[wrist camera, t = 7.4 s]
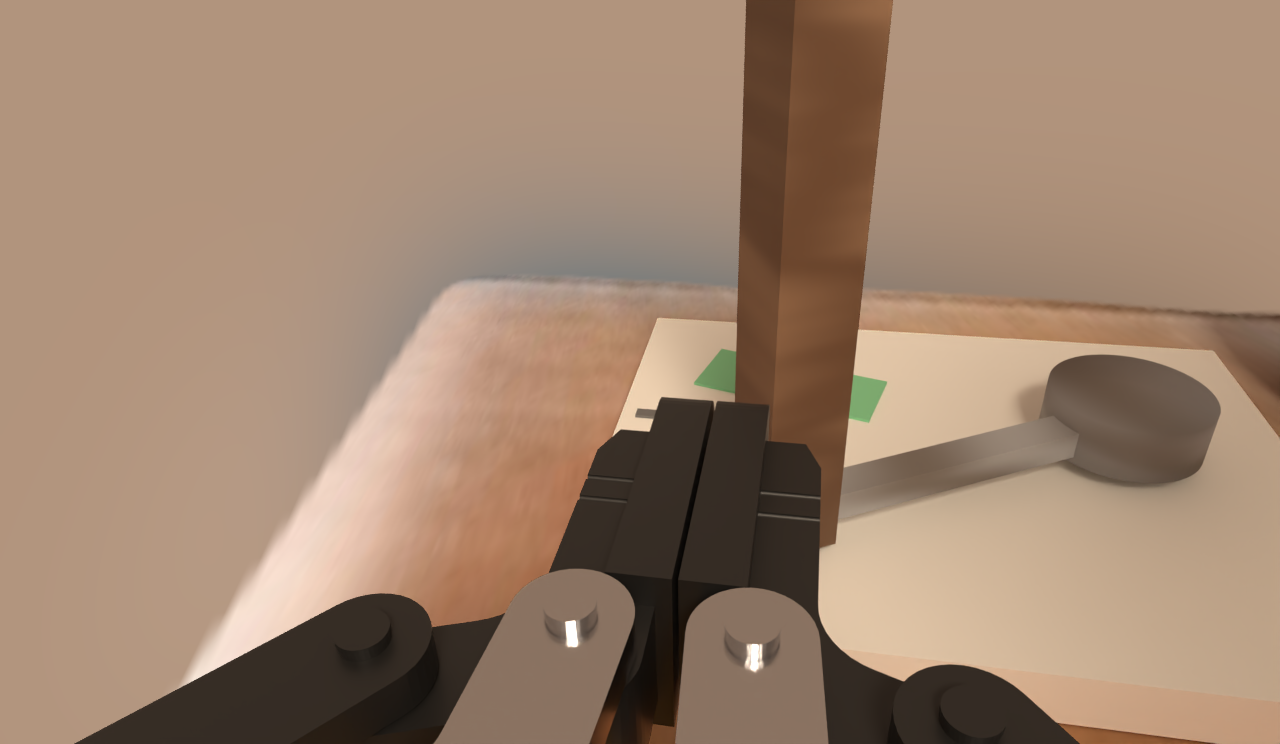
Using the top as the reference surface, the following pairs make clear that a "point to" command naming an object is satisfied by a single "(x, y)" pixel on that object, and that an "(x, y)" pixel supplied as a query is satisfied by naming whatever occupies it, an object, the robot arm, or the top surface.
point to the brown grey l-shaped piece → (833, 281)
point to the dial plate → (1040, 539)
